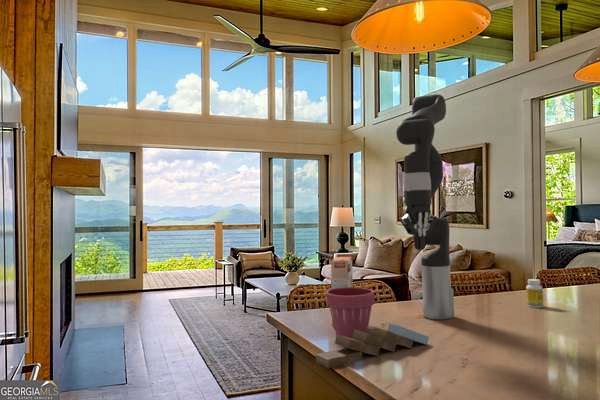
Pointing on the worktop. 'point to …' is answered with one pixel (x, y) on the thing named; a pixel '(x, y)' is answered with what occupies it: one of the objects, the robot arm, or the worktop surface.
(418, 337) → the domino
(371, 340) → the domino
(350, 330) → the plant pot
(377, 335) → the domino
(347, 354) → the domino
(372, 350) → the domino
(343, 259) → the cracker box
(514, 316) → the worktop surface
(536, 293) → the supplement bottle
